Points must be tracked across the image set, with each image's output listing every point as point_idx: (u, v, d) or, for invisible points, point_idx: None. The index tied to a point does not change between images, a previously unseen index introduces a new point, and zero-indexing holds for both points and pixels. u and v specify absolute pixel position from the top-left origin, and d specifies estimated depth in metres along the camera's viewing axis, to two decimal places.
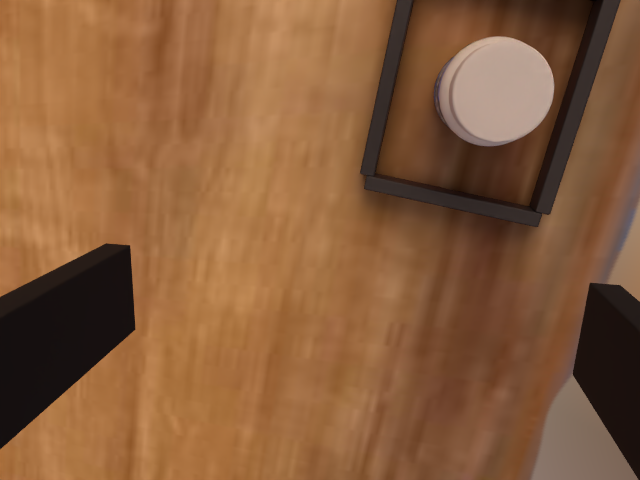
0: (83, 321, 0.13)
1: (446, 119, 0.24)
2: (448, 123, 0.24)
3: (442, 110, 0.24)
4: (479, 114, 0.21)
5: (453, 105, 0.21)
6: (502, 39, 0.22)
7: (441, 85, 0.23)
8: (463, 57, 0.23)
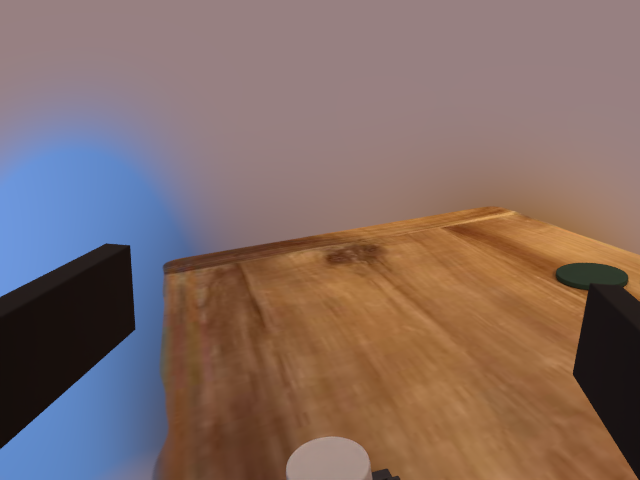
0: (83, 321, 0.13)
1: None
2: None
3: None
4: (335, 446, 0.25)
5: (358, 444, 0.26)
6: None
7: None
8: None
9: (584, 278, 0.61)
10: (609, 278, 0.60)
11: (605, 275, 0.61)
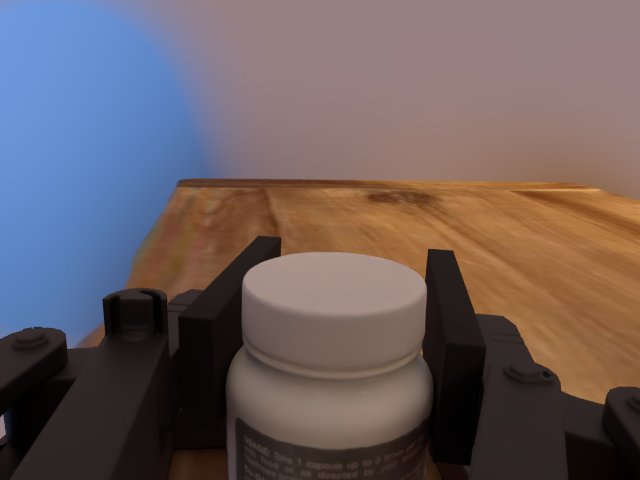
0: None
1: None
2: None
3: None
4: (355, 262, 0.12)
5: None
6: (361, 417, 0.10)
7: None
8: (419, 381, 0.11)
9: None
10: None
11: None
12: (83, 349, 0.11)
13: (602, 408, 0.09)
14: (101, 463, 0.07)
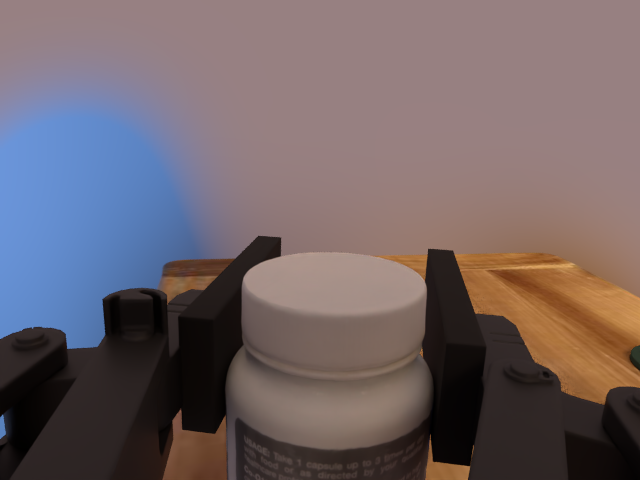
0: None
1: None
2: None
3: None
4: (355, 262, 0.12)
5: None
6: (361, 417, 0.10)
7: None
8: (419, 382, 0.11)
9: None
10: None
11: None
12: (83, 349, 0.11)
13: (602, 408, 0.09)
14: (100, 463, 0.07)
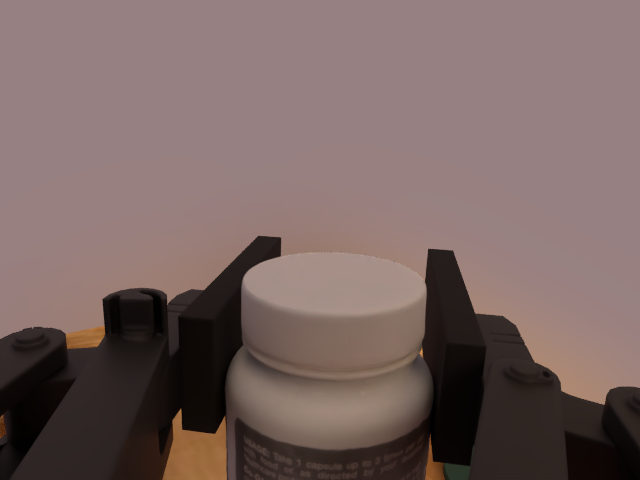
0: None
1: None
2: None
3: None
4: (355, 262, 0.12)
5: None
6: (361, 417, 0.10)
7: None
8: (418, 382, 0.11)
9: None
10: None
11: None
12: (83, 349, 0.11)
13: (602, 408, 0.09)
14: (101, 463, 0.07)
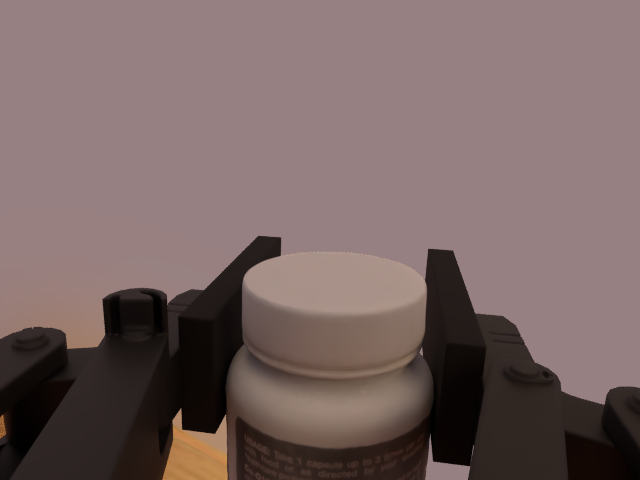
0: None
1: None
2: None
3: None
4: (355, 262, 0.12)
5: None
6: (361, 416, 0.10)
7: None
8: (419, 381, 0.11)
9: None
10: None
11: None
12: (83, 349, 0.11)
13: (602, 408, 0.09)
14: (100, 463, 0.07)
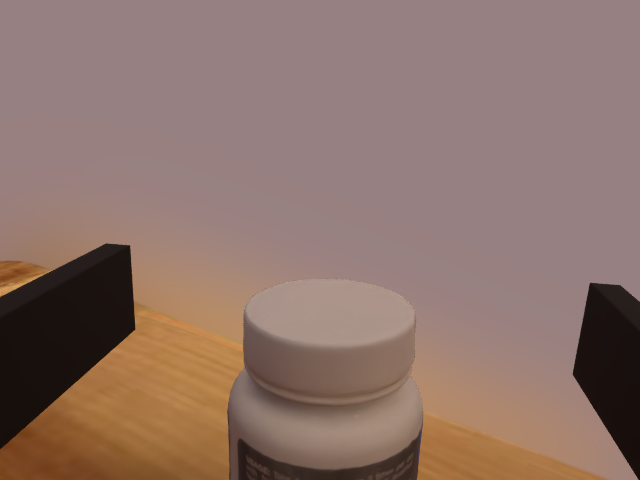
0: (83, 321, 0.13)
1: None
2: None
3: None
4: (350, 290, 0.13)
5: None
6: (354, 439, 0.11)
7: None
8: (408, 404, 0.12)
9: None
10: None
11: None
12: None
13: None
14: None
